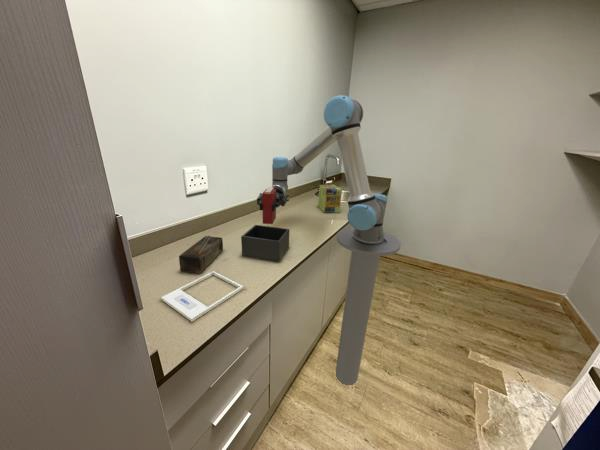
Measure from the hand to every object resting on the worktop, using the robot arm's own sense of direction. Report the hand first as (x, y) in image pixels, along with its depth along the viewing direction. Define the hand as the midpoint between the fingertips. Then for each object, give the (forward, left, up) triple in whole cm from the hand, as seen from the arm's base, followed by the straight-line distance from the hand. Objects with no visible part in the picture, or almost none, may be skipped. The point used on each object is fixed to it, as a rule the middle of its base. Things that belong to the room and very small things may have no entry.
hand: (266, 207), depth 92 cm
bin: (+1, -2, -20) cm, 20 cm away
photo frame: (+9, +30, -20) cm, 37 cm away
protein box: (-16, -73, -20) cm, 77 cm away
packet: (+1, -5, -7) cm, 9 cm away
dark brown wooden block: (+21, +12, -20) cm, 32 cm away
